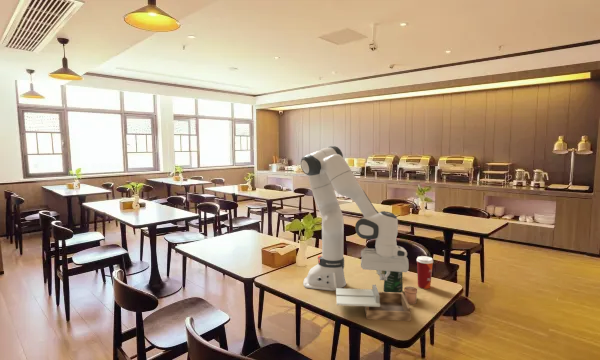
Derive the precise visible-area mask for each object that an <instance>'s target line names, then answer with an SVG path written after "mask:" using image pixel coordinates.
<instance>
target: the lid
mask: <svg viewBox="0 0 600 360" xmlns="http://www.w3.org/2000/svg"><path fill="white" fill-rule="evenodd" d="M371 286H372V289H371V288H370V289H367V288H345V287H342V288H336V290H335V295H336V297H335V298H336V299H335V300H336V306H344V307H345V306H347V307H348V306H349V307H364V306H373V307H380V296H379V293H378V292H379V290H378V286H377V285H376V284H372V285H371Z"/></svg>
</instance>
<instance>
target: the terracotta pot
mask: <svg viewBox="0 0 600 360" xmlns="http://www.w3.org/2000/svg"><path fill="white" fill-rule="evenodd" d="M403 290H404V296H405V298H406V300H407V302H408V304H409V305H415V304H417V293H418V288H416V287H414V286H405V287H404V288H403Z"/></svg>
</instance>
